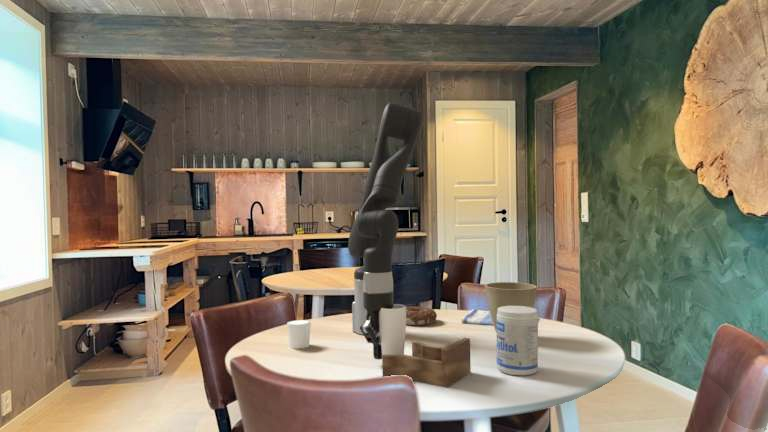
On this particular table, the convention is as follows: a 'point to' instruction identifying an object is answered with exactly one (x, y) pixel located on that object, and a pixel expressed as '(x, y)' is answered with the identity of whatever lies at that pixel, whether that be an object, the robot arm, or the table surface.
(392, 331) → the drinking glass
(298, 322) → the white cup
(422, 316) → the donut
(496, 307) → the plant pot
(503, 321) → the supplement tub
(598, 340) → the table surface
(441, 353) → the holder
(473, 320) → the dish towel
